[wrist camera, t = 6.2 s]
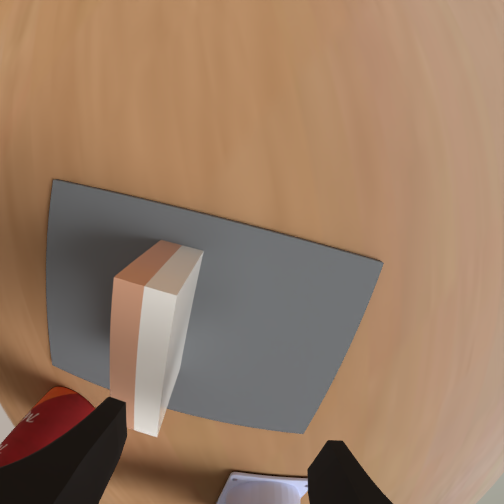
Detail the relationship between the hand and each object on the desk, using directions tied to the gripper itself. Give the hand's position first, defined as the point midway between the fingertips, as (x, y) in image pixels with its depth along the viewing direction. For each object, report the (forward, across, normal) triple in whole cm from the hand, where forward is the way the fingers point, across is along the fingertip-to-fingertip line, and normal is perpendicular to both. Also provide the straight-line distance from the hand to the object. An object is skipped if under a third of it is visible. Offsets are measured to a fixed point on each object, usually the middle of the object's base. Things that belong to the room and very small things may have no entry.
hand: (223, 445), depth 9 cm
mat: (+9, +3, +1) cm, 9 cm away
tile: (+8, +4, 0) cm, 9 cm away
